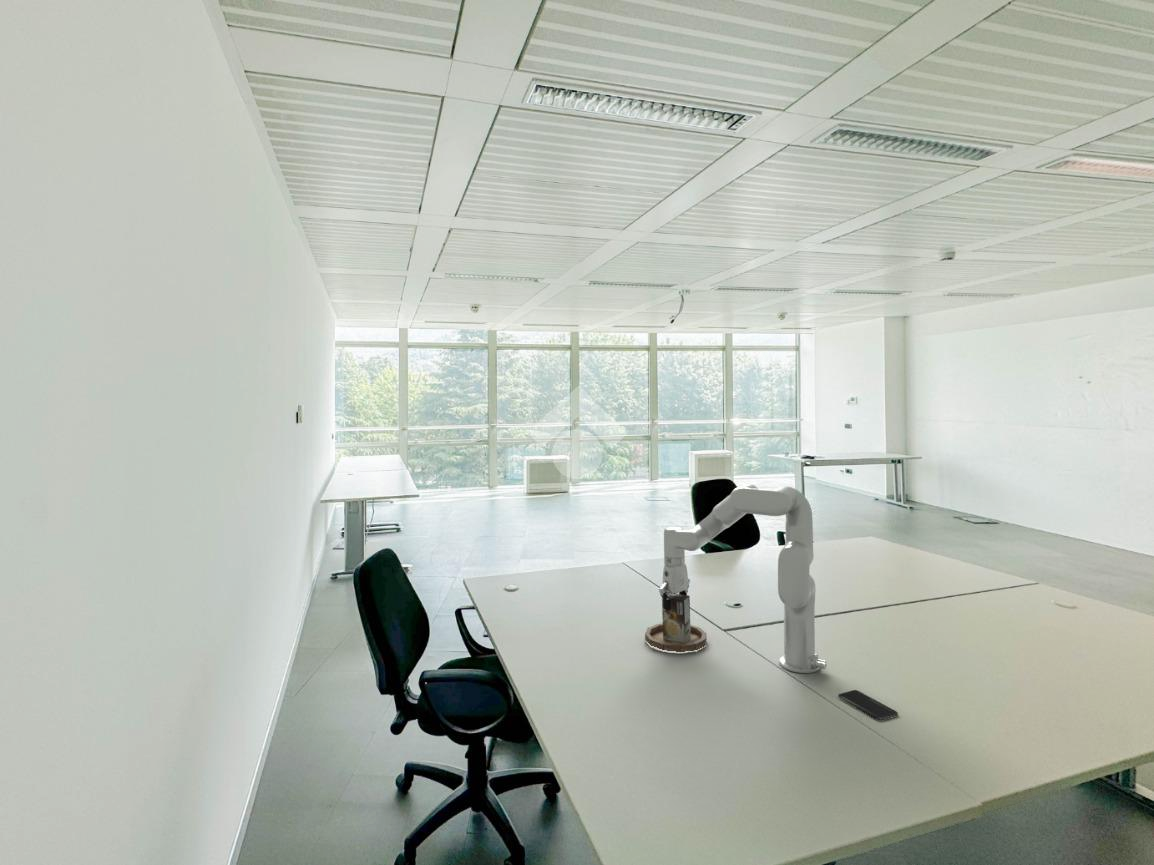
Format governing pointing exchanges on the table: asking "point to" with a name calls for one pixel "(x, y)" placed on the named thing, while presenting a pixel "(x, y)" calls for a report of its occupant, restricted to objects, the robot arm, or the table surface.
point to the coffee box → (677, 619)
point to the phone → (868, 705)
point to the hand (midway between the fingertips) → (675, 606)
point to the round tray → (656, 639)
